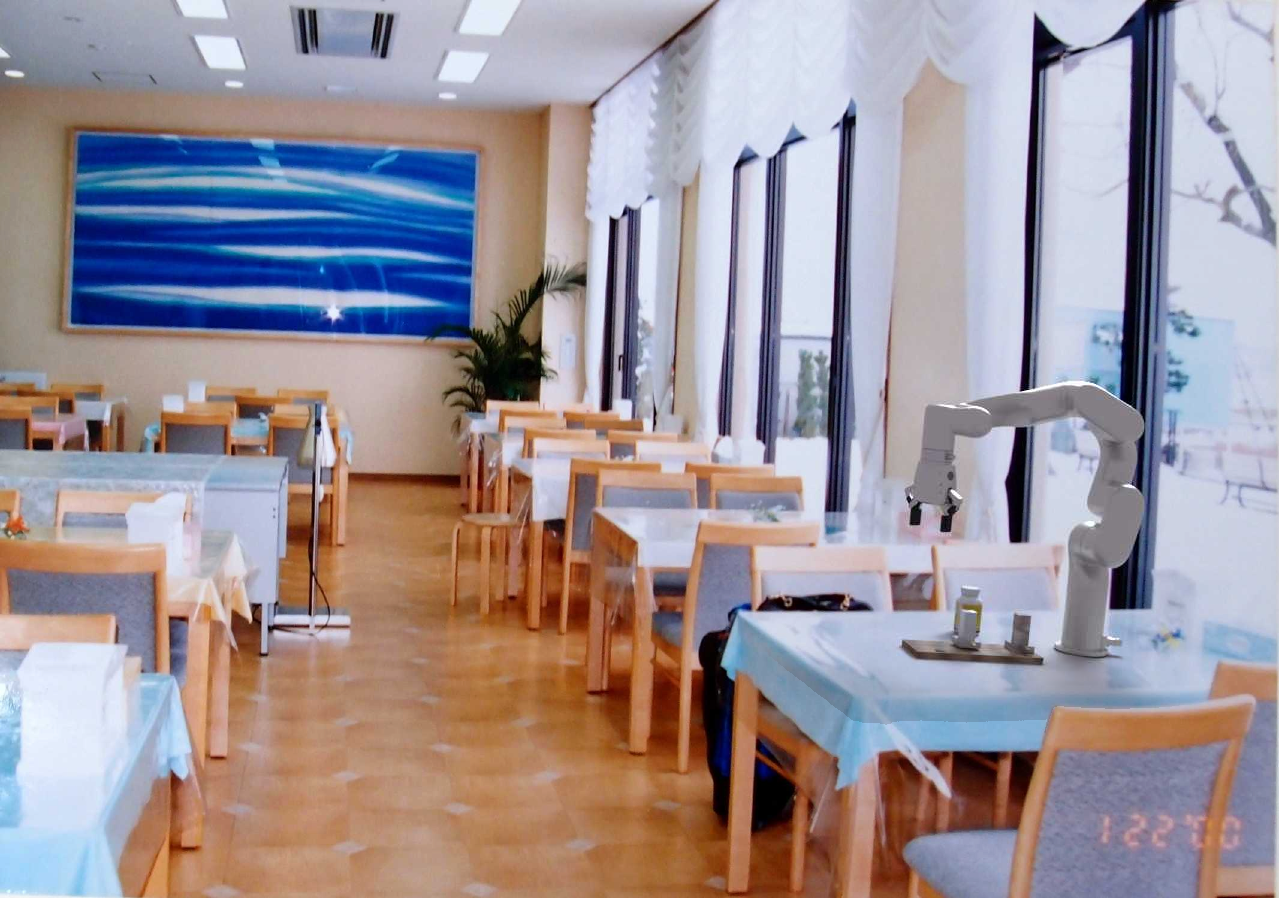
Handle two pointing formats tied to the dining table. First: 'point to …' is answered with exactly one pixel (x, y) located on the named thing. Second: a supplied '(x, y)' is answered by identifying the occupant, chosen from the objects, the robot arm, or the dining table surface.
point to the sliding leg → (967, 630)
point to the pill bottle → (968, 605)
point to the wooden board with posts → (983, 647)
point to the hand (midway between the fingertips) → (929, 528)
